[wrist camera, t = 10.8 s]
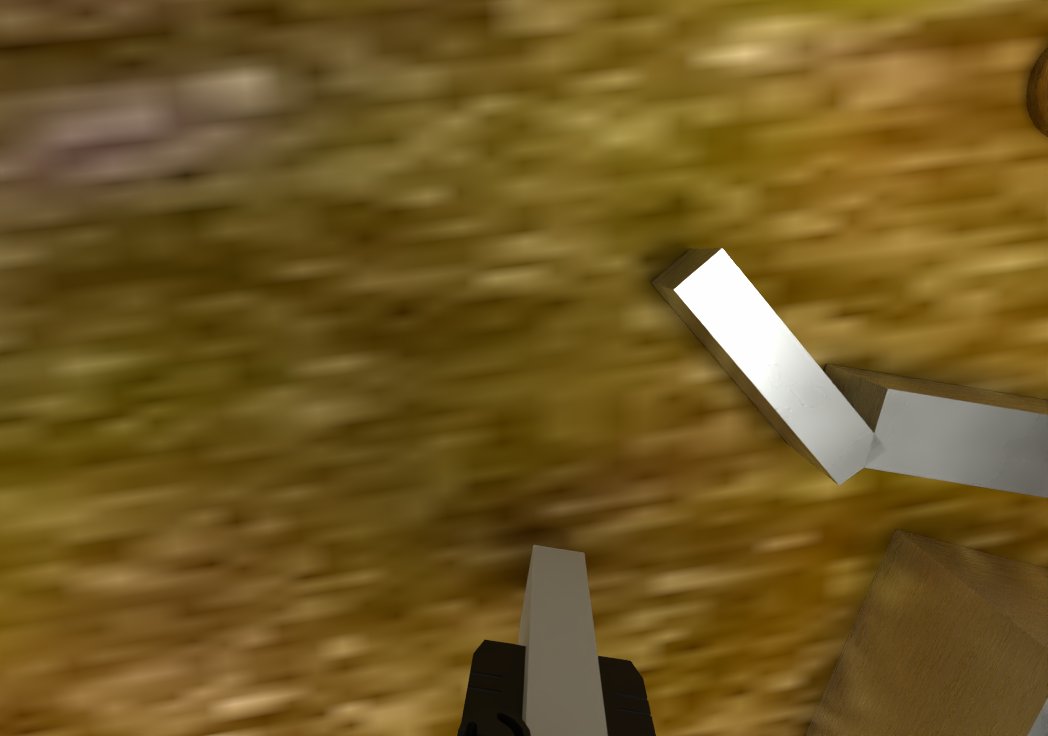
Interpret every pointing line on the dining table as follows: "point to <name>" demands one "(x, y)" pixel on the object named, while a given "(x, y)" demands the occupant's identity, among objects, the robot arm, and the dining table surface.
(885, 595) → the block
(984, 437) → the slide dock
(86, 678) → the dining table surface
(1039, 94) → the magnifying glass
